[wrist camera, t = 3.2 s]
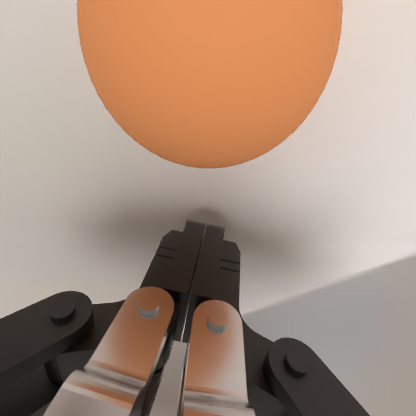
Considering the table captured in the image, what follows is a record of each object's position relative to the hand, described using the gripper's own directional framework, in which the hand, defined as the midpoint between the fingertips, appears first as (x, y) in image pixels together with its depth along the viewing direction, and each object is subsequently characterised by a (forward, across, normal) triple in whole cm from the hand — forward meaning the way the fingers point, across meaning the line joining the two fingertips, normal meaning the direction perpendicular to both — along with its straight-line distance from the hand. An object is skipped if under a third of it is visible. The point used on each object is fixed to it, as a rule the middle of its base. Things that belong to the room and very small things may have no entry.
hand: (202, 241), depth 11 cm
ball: (-1, +1, -7) cm, 7 cm away
